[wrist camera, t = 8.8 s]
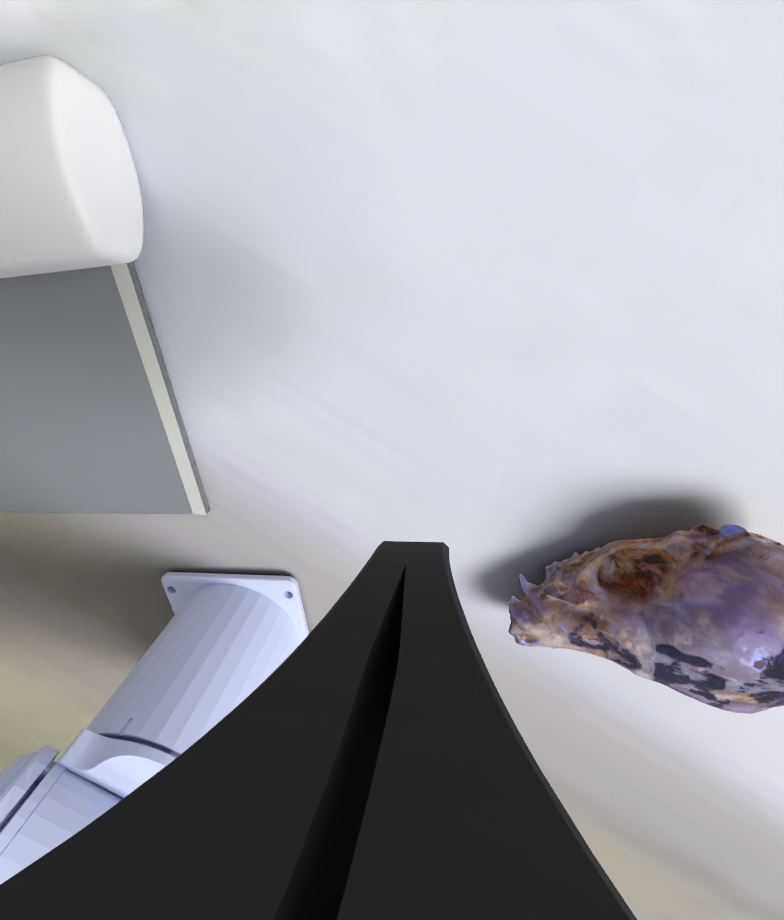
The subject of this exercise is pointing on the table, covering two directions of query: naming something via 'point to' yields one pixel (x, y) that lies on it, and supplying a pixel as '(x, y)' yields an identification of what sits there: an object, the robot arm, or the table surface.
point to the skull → (671, 613)
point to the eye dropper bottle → (63, 173)
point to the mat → (88, 400)
